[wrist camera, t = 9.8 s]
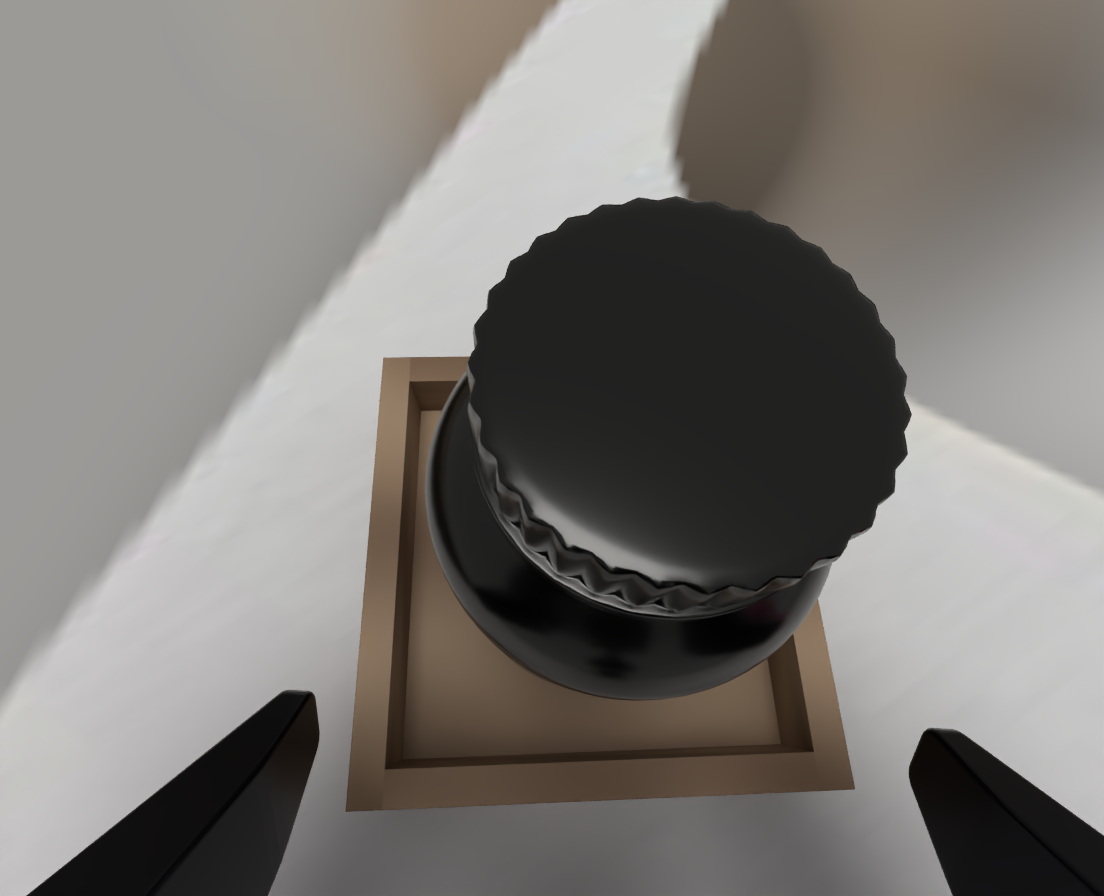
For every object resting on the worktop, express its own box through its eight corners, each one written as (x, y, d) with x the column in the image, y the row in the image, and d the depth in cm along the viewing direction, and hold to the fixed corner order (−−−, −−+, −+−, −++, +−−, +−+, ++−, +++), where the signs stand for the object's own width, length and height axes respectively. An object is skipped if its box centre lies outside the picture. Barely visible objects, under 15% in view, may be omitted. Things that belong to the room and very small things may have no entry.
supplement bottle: (425, 621, 17) (212, 493, 6) (534, 424, 19) (537, 55, 8) (650, 740, 16) (935, 873, 5) (735, 516, 18) (1060, 247, 7)
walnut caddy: (800, 771, 16) (855, 789, 14) (378, 789, 16) (345, 811, 13) (738, 397, 21) (769, 353, 18) (403, 402, 20) (383, 357, 17)
